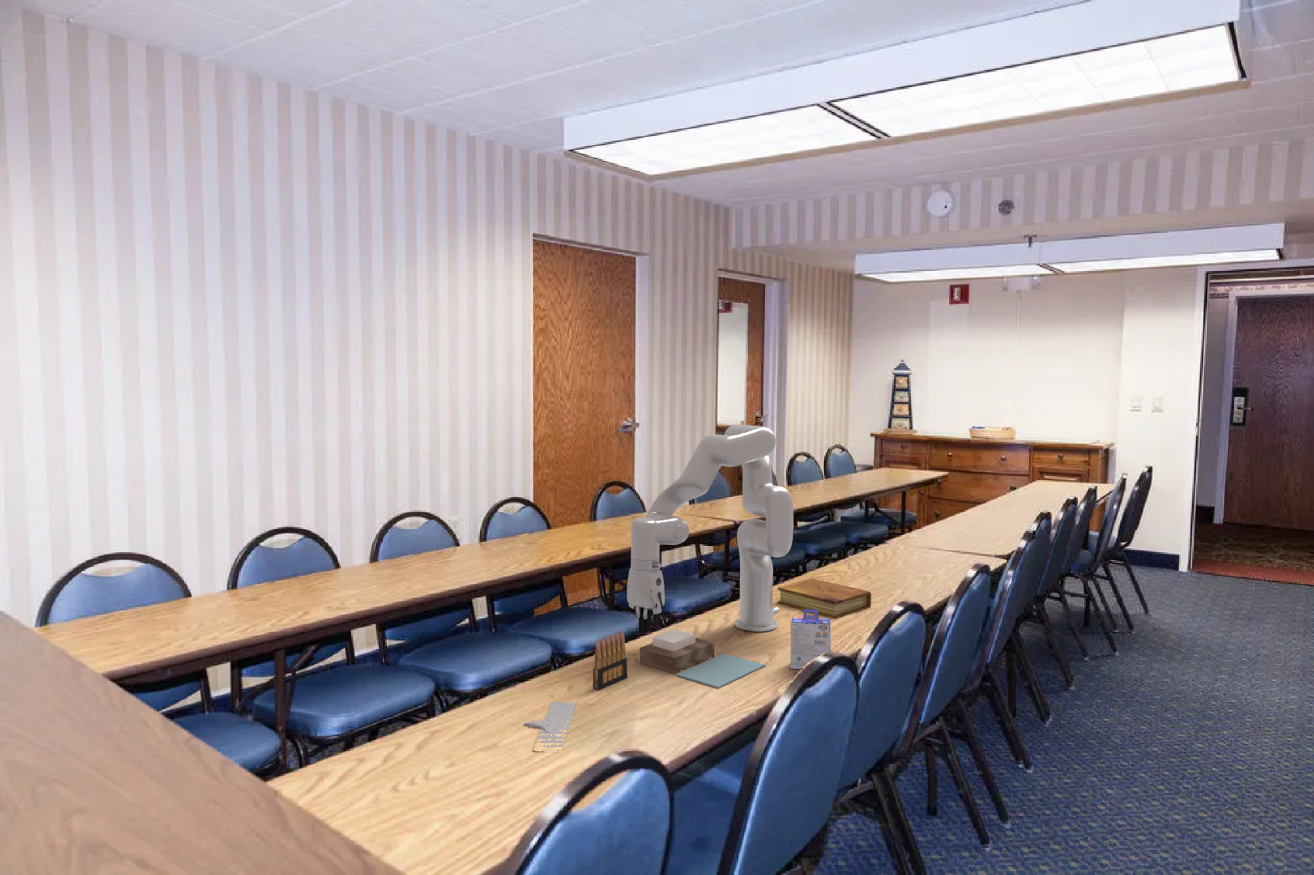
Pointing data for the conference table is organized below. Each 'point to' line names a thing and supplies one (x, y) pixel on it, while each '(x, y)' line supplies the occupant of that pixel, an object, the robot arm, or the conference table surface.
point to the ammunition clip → (609, 662)
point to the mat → (720, 670)
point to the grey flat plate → (554, 722)
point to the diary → (824, 597)
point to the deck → (677, 656)
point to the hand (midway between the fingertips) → (644, 631)
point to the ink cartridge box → (809, 638)
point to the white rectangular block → (674, 640)
